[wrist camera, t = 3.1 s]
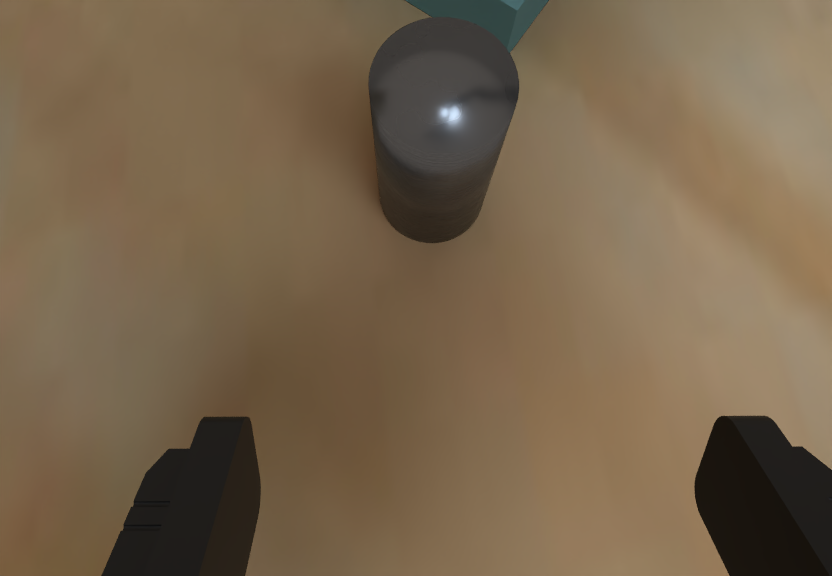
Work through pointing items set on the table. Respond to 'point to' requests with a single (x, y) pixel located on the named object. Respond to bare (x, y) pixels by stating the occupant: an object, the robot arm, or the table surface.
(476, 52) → the dark grey cylinder
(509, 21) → the jig
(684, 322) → the table surface
